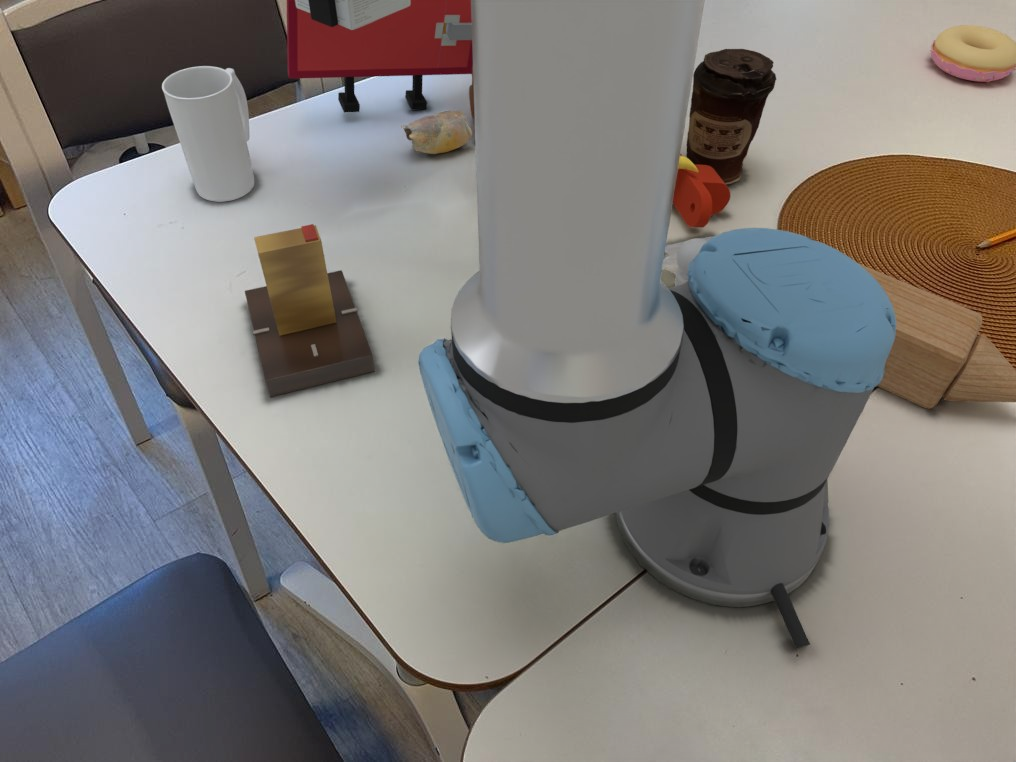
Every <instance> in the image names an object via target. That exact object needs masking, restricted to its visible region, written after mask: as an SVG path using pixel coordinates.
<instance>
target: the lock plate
mask: <svg viewBox="0 0 1016 762" xmlns="http://www.w3.org/2000/svg"><path fill="white" fill-rule="evenodd" d="M327 274H328V279H329V285H330V290H331V295H332V301H333V306H334V311H335V317H336V323H333V324H328V325H324V326H320V327H315V328H311V329H307V330H302V331H298V332H294V333H289V334H285V335H281V336H280V335H279V332H278V328H277V324H276V320H275V317H274V313H273V309H272V305H271V301H270V297H269V294H268V290H267V286H266V285H265V286H260V287H256V288H251V289H247V290H244V295H245V298H246V303H247V309H248V311H249V316H250V321H251V325H252V335H253V336H254V338H255V343H256V347H257V352H258V356H259V360H260V364H261V369H262V372H263V373H262V374H263V378H264V381H265V385H266V389H267V392H268V396H269V397H270V398H271V397H276V396H280V395H284V394H288V393H292V392H297V391H300V390H305V389H309V388H312V387H317V386H321V385H325V384H330V383H333V382H337V381H341V380H345V379H349V378H353V377H358V376H361V375H362V376H363V375H365V374H370V373H373V372H375V371H376V370H375V365H374V364H375V363H374V358H373V357H374V356H373V353H372V350H371V348H370V345H369V341H368V339H367V336H366V333H365V331H364V328H363V325H362V323H361V319H360V317H359V314H358V307H356V306H355V303H354V301H353V297H352V295H351V292H350V289H349V287H348V283H347V280H346V278H345V275H344V272H343V270H342V269H340V270H336V271H331V272H327Z"/></svg>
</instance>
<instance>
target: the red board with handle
mask: <svg viewBox="0 0 1016 762" xmlns="http://www.w3.org/2000/svg"><path fill="white" fill-rule="evenodd" d="M410 1H411V4H410V6H409V7H407V8H404V9H402V10H399V11H397V12H395V13H392V14H390V15H388V16H385V17H383V18H380V19H378V20H376V21H374V22H372V23H369V24H367V25H365V26H362V27H360V28H357V29H354V30H350V29H348V28H346V27H343V26H341V25H339V24H338V25H336V26H334V27H330V26H328V25H325V24H322V23H320V22H317V21H315V20H312V19H311V13H309V12H306V11H304V10H301V9H298V8H297V7H296V3H295V0H286V49H287V51H286V52H287V53H286V55H287V62H286V63H287V76H288V79H290V80H291V79H294V80H295V79H331V78H332V79H333V78H343V79H344V80H343V81H344V82H343V83H344V92H338V94H337V95H338V96H337V97H338V98H337V99H338V102H339V105H340V107H341V110H342V111H343V113H345V114H346V113H360V110H361V104H360V102H359V100H358V97H357V96H356V94H355V78H369V77H370V78H371V77H374V78H375V77H410V76H411V77H412V89H407V90H405V93H404V95H405V96H404V98H405V100H406V102H407V104H408V106H409V107H410V109H411V111H415V110H416V111H417V110H418V111H419V110H427V107H428V102H427V100H426V98H425V95H424V94H423V78H424V77H423V76H448V75H449V76H450V75H452V76H453V75H472V66H473V51H472V20H471V0H410ZM445 24H446V28H445V33H443V32H444V26H445Z"/></svg>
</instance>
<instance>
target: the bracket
mask: <svg viewBox="0 0 1016 762" xmlns="http://www.w3.org/2000/svg"><path fill="white" fill-rule="evenodd" d="M680 156H683V154H682V153H680ZM694 165H695V166H696V168H697V169H698V171H699V173H696V172H694V171H691V170H688V169H678V171H677V178H676V184H675V190H674V196H673V203H672V205H673V206H674V208H675V209H676V210H677V212H678V214H679V215H680V217H681V218H682V219H683V221H684V223H685V224H686V225H687V227H689V228H705V227H706V226H707V225H708V223H709V222H710V219H711V216H714V215H717V214H719V213H720V212H722V211H723V210H724V209H725V208H726V207H727V205H728V204H729V202H730V200H731V190H730V188H729V187H728V186H727V185H728V184H725V183H724V182H723V180H722V179H721V178H720V176H719V175H718V174H717V173H716V171H715V170H714V169H713V168H712V167H711V166H708V165H698V164H694Z"/></svg>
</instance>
